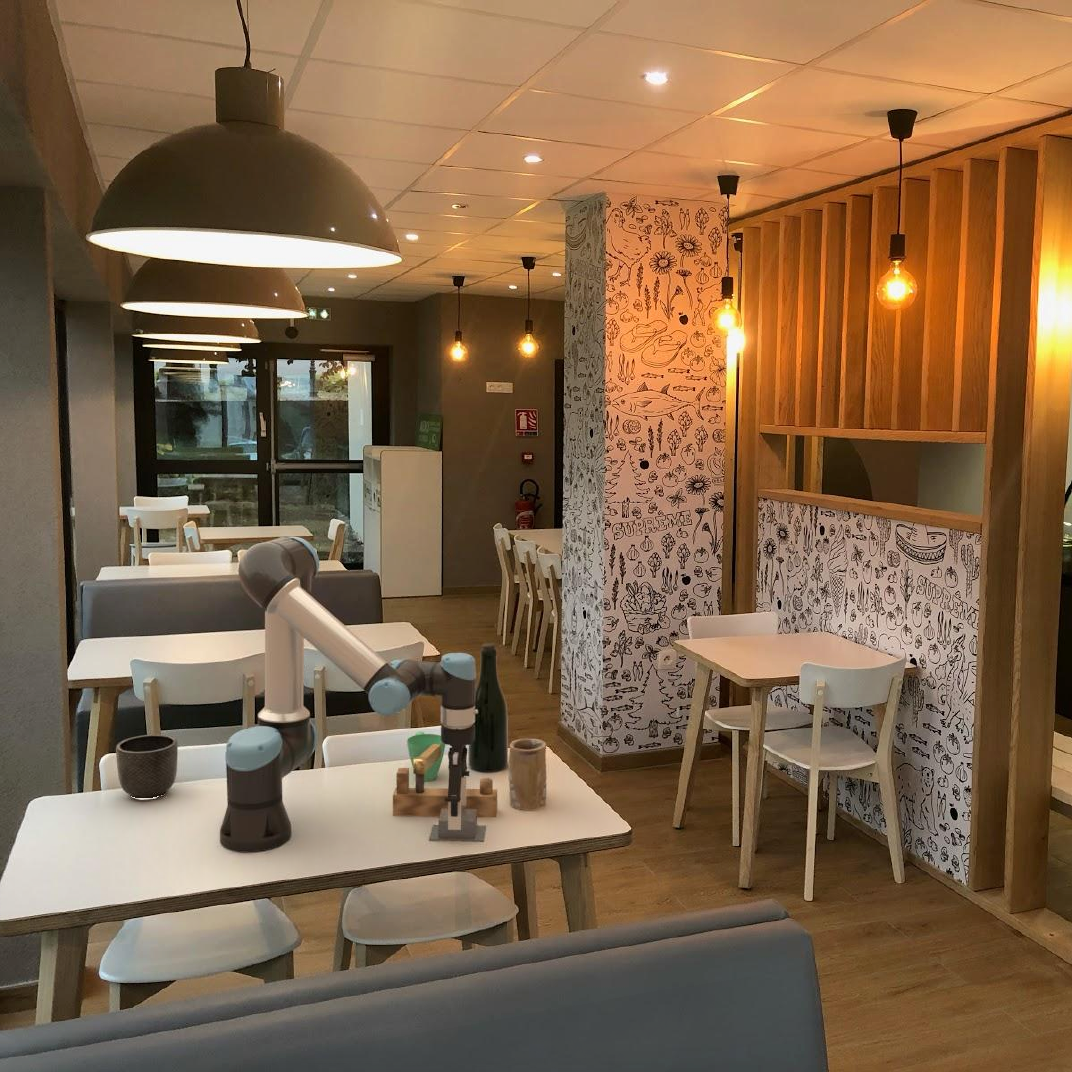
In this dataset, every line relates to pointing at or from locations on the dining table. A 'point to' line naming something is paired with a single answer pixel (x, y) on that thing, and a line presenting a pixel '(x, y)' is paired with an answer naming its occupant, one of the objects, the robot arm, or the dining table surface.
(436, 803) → the body
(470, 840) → the mat
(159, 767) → the planter
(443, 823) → the grey stone cube
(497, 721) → the green wine bottle
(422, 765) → the lever
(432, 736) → the mug
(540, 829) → the dining table surface
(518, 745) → the mug
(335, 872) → the dining table surface
